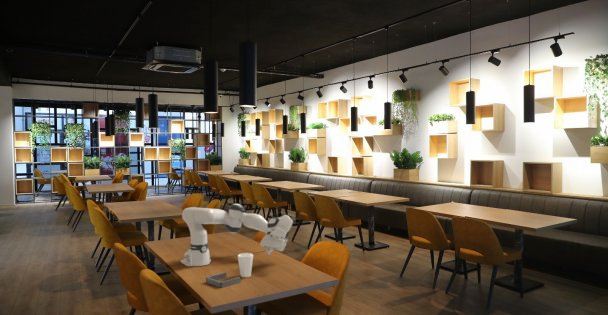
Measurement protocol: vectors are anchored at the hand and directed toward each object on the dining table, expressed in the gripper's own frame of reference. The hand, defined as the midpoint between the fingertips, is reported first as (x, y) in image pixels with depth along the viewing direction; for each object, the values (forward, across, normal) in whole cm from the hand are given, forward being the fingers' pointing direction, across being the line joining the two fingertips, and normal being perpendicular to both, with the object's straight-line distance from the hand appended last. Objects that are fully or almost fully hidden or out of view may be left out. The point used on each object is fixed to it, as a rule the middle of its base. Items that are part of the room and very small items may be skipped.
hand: (267, 253), depth 272 cm
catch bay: (+31, 0, +17) cm, 36 cm away
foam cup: (+20, 0, +5) cm, 21 cm away
